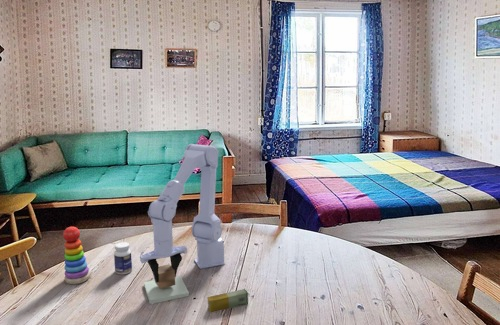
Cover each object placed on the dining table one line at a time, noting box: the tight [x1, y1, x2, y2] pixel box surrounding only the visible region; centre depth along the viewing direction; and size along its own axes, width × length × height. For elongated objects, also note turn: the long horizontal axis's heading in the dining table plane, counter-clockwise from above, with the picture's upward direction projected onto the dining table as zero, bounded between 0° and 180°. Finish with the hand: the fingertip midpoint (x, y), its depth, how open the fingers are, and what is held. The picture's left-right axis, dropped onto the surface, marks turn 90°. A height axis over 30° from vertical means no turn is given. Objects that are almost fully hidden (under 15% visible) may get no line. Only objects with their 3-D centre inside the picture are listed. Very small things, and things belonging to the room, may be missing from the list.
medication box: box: [207, 288, 249, 313], centre depth 122 cm, size 12×3×4 cm, turn 112°
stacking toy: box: [62, 226, 91, 285], centre depth 137 cm, size 8×8×19 cm
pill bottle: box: [113, 241, 133, 275], centre depth 144 cm, size 6×6×10 cm
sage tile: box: [143, 275, 190, 305], centre depth 131 cm, size 12×12×1 cm
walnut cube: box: [155, 263, 175, 289], centre depth 131 cm, size 5×5×5 cm
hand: (165, 278), depth 131 cm, fingers closed on walnut cube, 5 cm apart
